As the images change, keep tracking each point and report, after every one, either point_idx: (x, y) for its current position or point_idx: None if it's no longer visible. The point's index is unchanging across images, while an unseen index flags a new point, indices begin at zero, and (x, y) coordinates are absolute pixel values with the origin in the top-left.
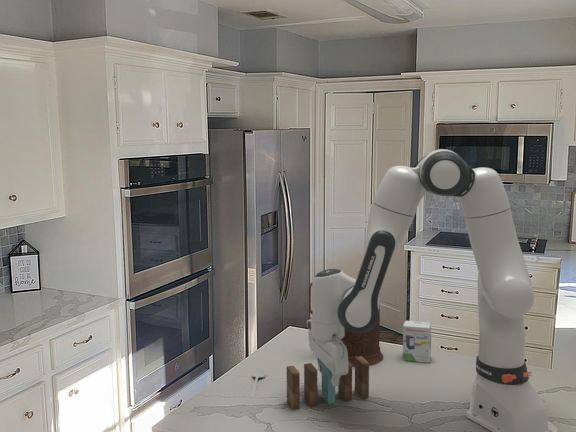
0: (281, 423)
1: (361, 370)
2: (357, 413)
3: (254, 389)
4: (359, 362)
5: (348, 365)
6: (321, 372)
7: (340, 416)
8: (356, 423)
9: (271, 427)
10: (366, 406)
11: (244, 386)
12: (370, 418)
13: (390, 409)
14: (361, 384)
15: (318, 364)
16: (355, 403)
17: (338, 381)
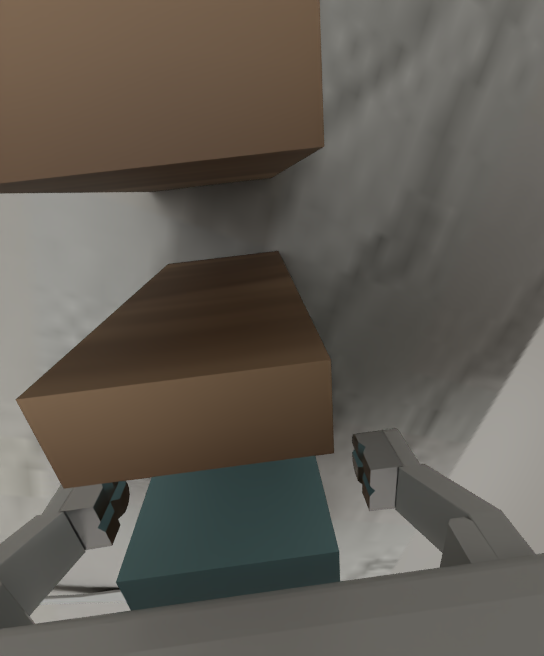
0: (386, 538)
1: (269, 164)
2: (432, 268)
3: (120, 596)
4: (176, 165)
5: (325, 412)
6: (127, 486)
7: (424, 355)
8: (516, 303)
9: (398, 560)
10: (378, 187)
11: (82, 611)
12: (512, 214)
13: (479, 18)
14: (264, 174)
15: (74, 560)
16: (322, 243)
17: (412, 453)
